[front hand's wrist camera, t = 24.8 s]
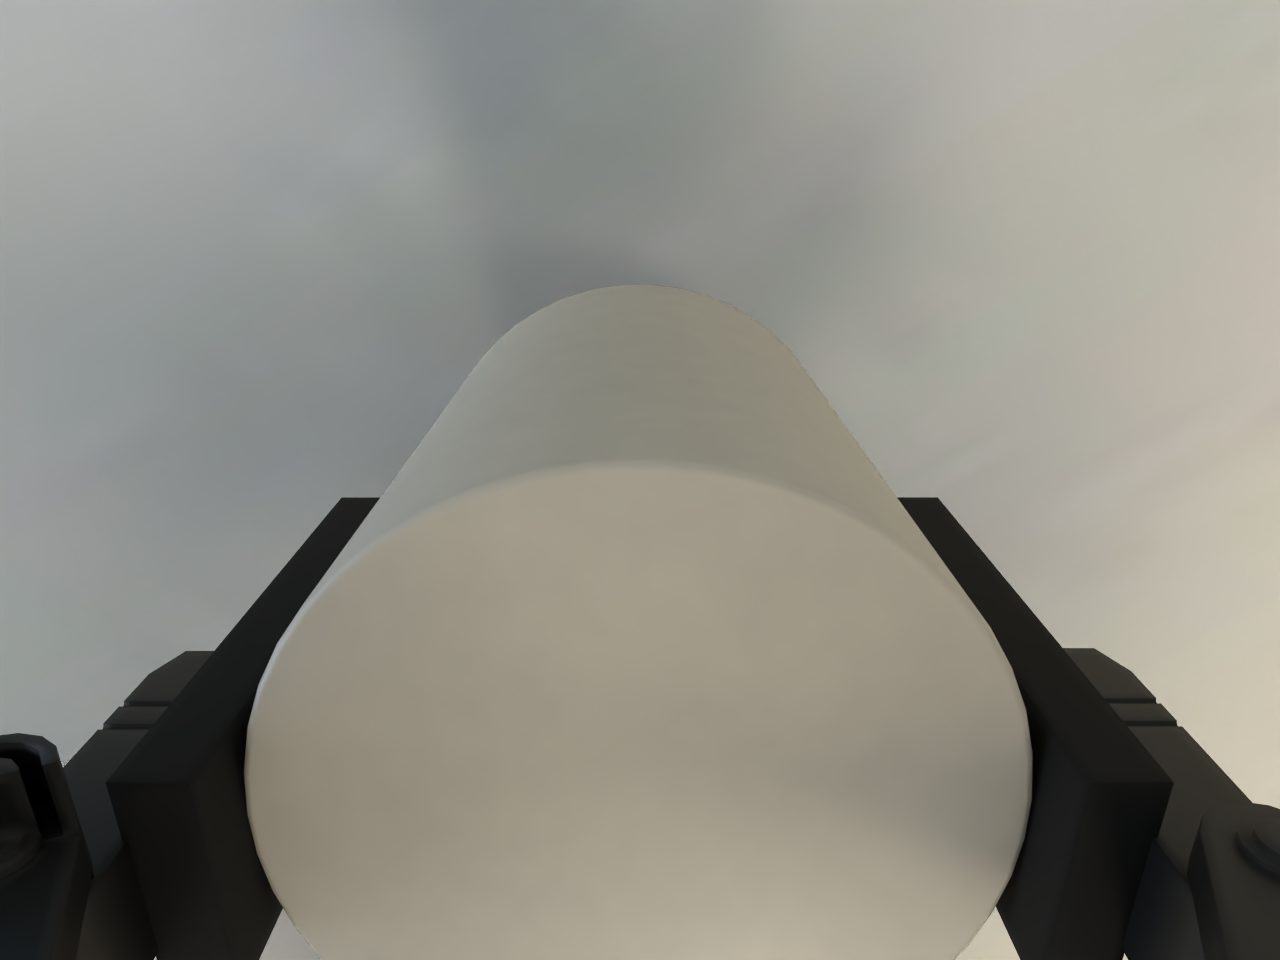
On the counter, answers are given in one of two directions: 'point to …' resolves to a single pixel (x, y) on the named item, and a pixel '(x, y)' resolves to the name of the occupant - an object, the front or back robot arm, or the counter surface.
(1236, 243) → the counter surface
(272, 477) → the counter surface
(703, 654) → the cylinder
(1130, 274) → the counter surface
